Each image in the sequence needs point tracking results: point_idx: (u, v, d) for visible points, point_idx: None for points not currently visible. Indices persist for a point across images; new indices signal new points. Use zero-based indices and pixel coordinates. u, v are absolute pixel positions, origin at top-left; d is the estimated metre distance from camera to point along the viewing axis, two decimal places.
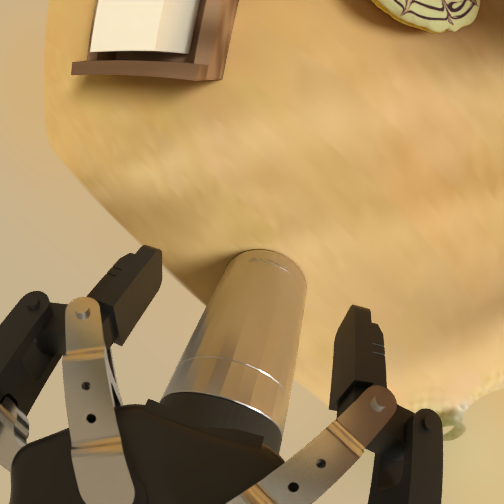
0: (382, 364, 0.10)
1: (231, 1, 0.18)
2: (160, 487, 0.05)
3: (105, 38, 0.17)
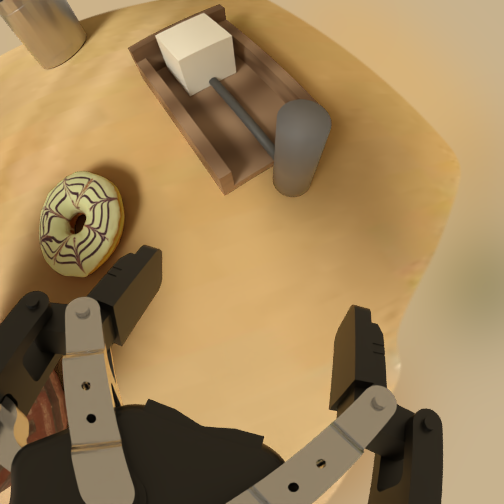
0: (382, 364, 0.10)
1: (161, 101, 0.30)
2: (160, 487, 0.05)
3: (196, 21, 0.26)
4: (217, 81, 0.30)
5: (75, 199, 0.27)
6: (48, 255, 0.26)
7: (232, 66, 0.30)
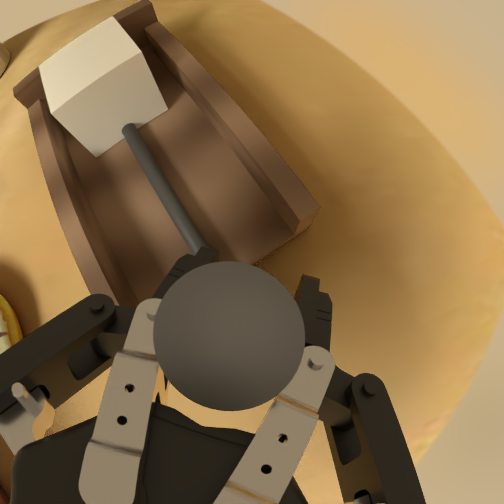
0: (328, 329, 0.11)
1: None
2: (160, 487, 0.05)
3: (97, 32, 0.14)
4: (132, 131, 0.18)
5: None
6: None
7: (158, 101, 0.18)
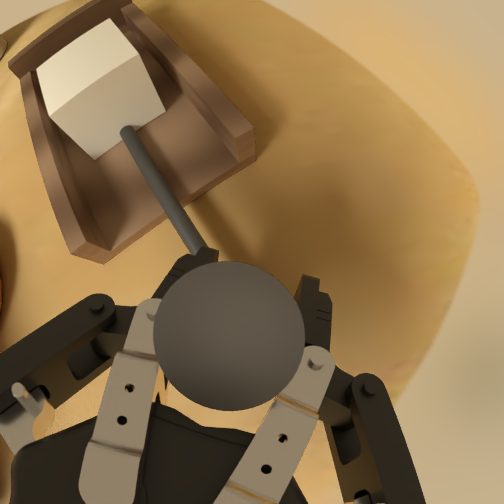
0: (328, 329, 0.11)
1: None
2: (160, 487, 0.05)
3: (94, 34, 0.14)
4: (130, 133, 0.18)
5: None
6: None
7: (155, 103, 0.18)
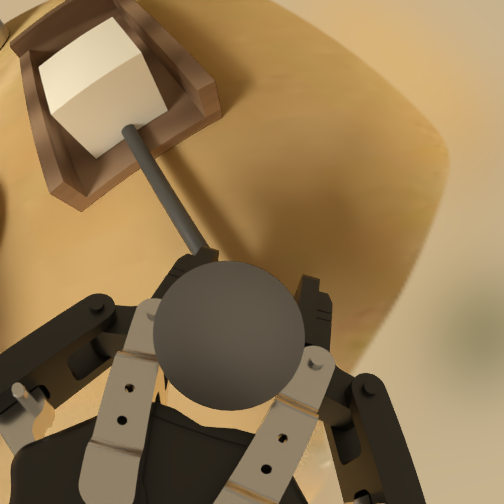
0: (328, 329, 0.11)
1: None
2: (160, 487, 0.05)
3: (97, 33, 0.14)
4: (132, 132, 0.18)
5: None
6: None
7: (157, 102, 0.18)
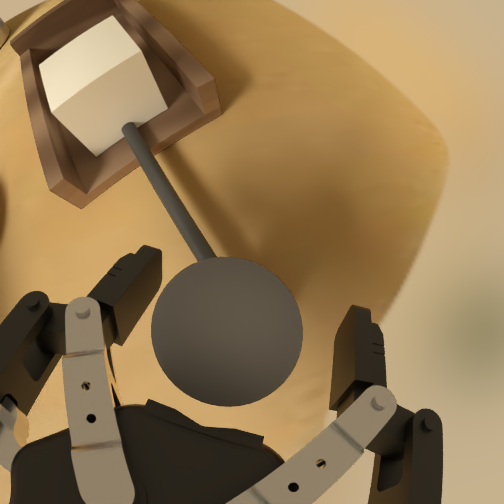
0: (383, 364, 0.10)
1: None
2: (160, 487, 0.05)
3: (97, 31, 0.14)
4: (132, 130, 0.18)
5: None
6: None
7: (157, 100, 0.18)
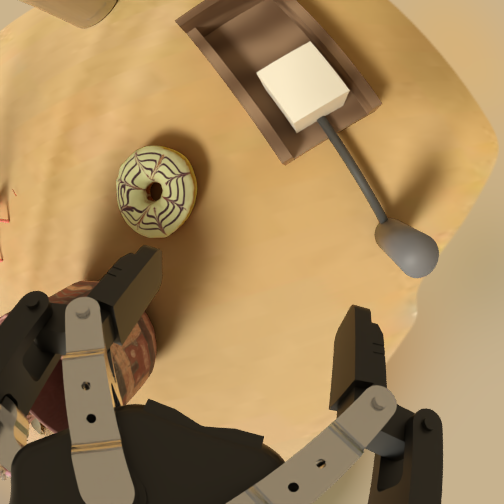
0: (382, 364, 0.10)
1: None
2: (160, 487, 0.05)
3: (304, 56, 0.24)
4: (326, 122, 0.29)
5: (150, 174, 0.33)
6: (130, 222, 0.35)
7: (341, 104, 0.28)
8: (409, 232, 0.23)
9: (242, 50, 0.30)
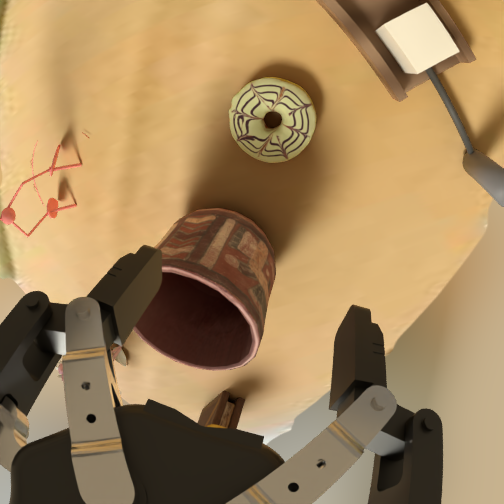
0: (382, 364, 0.10)
1: (328, 11, 0.26)
2: (160, 487, 0.05)
3: (423, 15, 0.20)
4: (430, 67, 0.26)
5: (271, 105, 0.33)
6: (250, 150, 0.37)
7: None
8: (501, 172, 0.24)
9: None
